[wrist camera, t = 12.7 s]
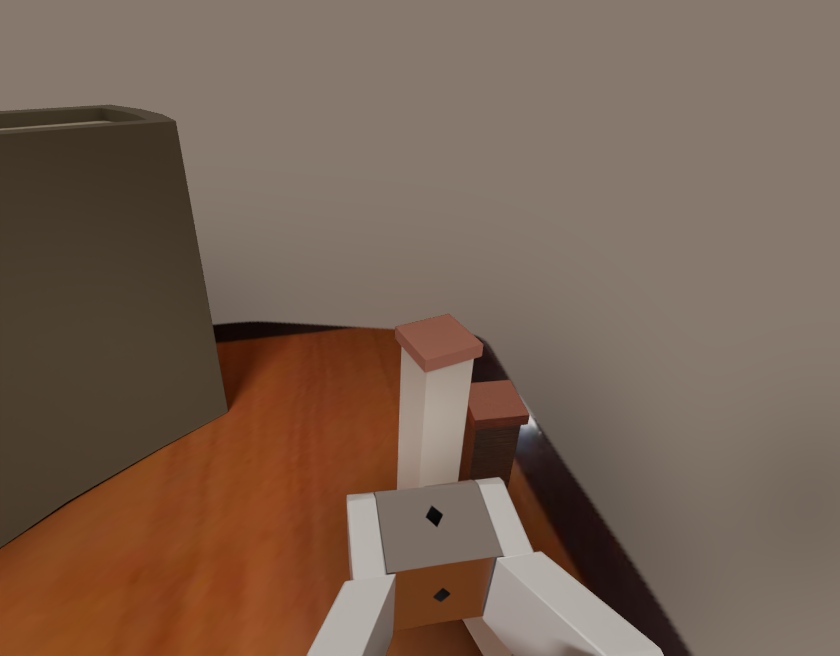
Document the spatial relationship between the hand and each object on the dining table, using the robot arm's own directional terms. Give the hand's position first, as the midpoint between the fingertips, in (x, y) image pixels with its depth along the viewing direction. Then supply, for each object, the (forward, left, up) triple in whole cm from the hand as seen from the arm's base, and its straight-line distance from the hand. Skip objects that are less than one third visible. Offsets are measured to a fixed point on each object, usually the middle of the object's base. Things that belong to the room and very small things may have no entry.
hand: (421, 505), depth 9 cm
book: (-22, +30, -26) cm, 45 cm away
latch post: (+9, +17, -26) cm, 32 cm away
